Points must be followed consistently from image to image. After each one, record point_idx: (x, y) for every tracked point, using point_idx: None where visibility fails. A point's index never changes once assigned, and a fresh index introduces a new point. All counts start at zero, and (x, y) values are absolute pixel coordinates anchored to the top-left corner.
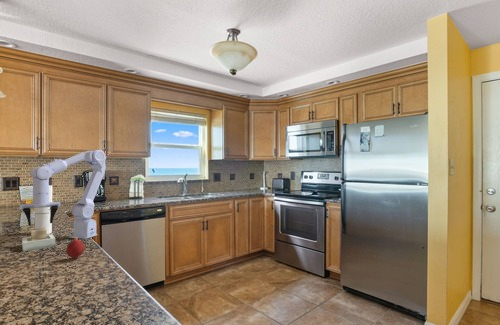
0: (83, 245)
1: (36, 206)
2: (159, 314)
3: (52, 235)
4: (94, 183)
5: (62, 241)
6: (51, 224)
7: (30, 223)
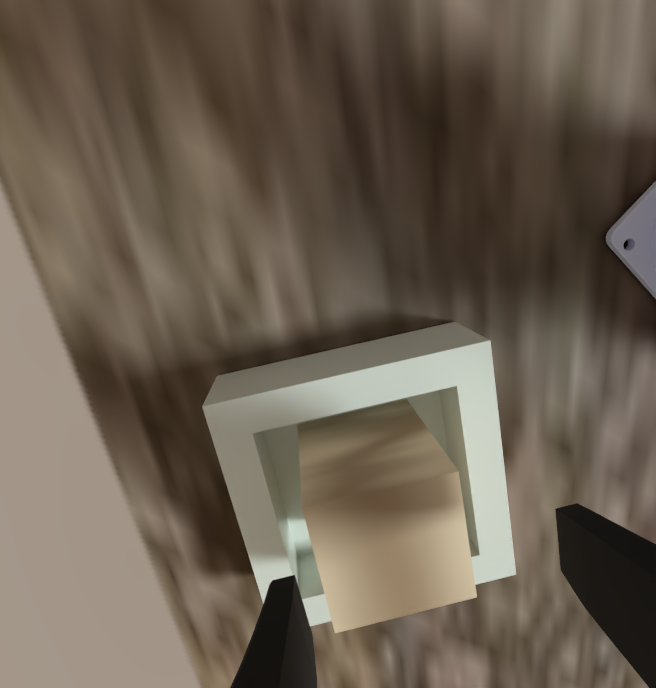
0: None
1: None
2: None
3: (491, 426)
4: None
5: (535, 359)
6: None
7: (312, 677)
